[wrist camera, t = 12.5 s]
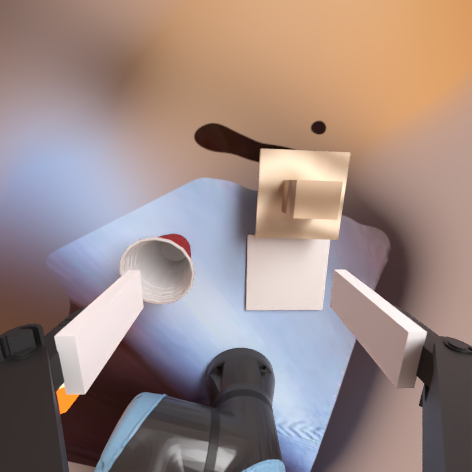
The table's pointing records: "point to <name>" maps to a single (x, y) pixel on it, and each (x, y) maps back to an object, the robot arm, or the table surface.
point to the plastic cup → (161, 267)
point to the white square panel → (286, 273)
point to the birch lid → (300, 193)
